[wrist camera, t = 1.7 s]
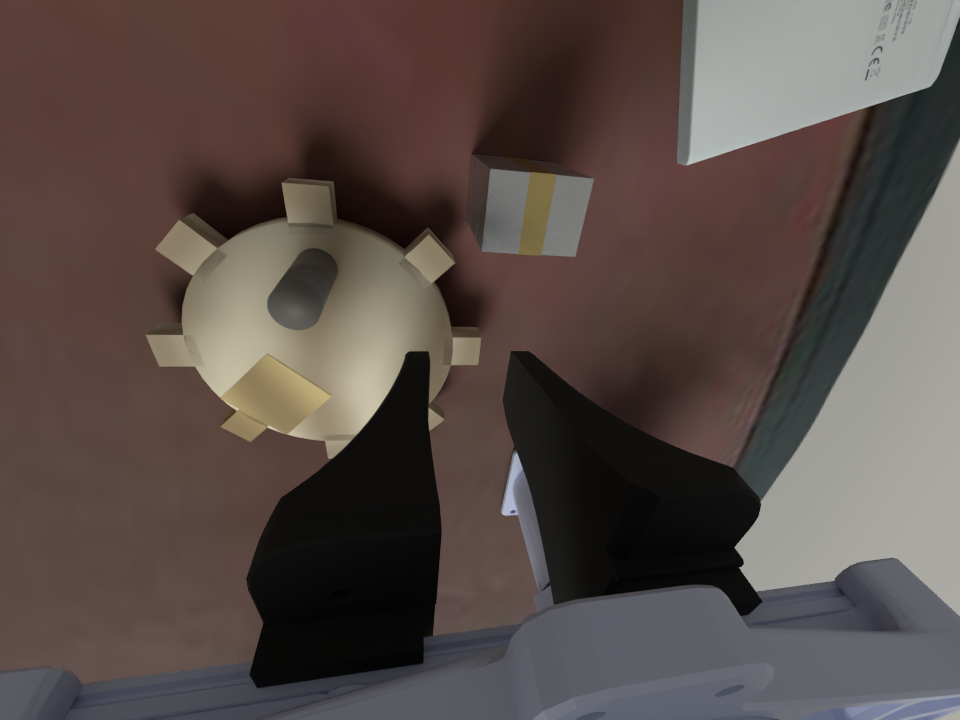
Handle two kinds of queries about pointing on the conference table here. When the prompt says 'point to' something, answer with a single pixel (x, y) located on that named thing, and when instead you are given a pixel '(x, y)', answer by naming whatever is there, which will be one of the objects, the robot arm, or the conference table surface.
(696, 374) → the conference table surface
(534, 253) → the white small box
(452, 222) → the conference table surface
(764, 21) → the external hard drive
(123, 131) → the conference table surface
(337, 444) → the sprocket
